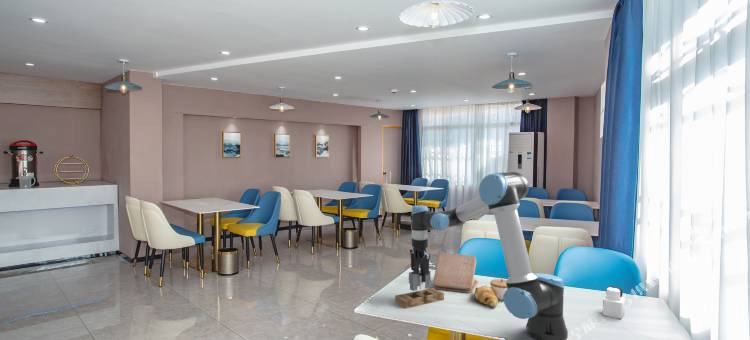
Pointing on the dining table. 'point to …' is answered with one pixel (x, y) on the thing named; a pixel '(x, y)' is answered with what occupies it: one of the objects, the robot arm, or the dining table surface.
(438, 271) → the case
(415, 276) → the grey bridge block
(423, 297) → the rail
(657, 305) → the dining table surface
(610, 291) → the medicine bottle
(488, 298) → the croissant
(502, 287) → the lidded jar
